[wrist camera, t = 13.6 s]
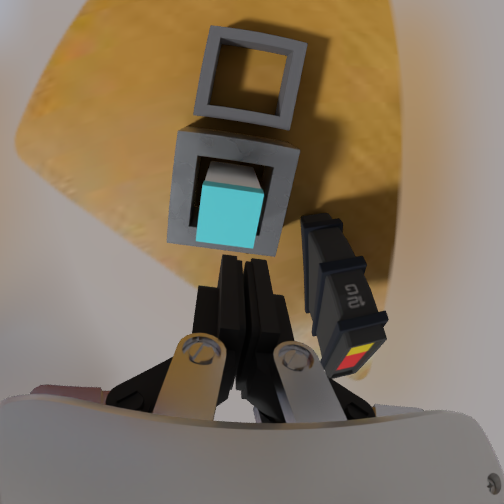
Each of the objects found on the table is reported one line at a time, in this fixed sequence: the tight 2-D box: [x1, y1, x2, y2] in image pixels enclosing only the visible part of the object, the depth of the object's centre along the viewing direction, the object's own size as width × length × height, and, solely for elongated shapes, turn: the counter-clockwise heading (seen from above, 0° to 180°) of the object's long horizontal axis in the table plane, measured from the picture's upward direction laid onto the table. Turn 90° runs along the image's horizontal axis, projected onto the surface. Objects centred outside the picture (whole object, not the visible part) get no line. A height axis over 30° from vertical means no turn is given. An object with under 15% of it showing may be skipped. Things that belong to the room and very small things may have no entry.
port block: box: [167, 126, 300, 257], centre depth 26 cm, size 10×10×5 cm
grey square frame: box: [193, 26, 308, 131], centre depth 23 cm, size 8×8×3 cm
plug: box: [196, 161, 264, 249], centre depth 24 cm, size 4×4×9 cm
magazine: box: [300, 213, 388, 379], centre depth 28 cm, size 4×13×15 cm, turn 8°
